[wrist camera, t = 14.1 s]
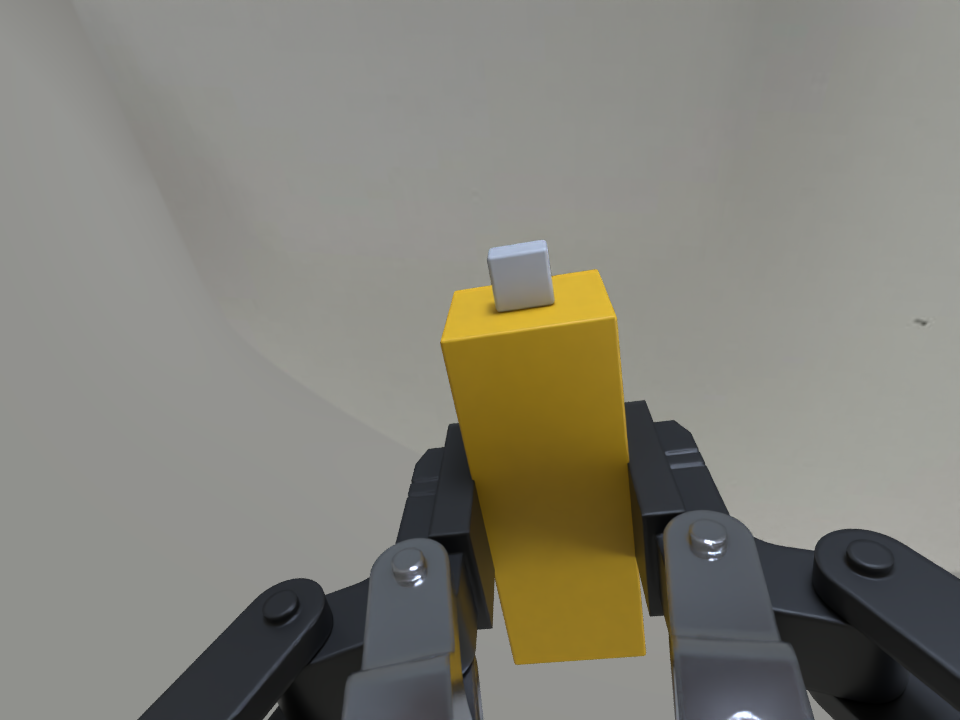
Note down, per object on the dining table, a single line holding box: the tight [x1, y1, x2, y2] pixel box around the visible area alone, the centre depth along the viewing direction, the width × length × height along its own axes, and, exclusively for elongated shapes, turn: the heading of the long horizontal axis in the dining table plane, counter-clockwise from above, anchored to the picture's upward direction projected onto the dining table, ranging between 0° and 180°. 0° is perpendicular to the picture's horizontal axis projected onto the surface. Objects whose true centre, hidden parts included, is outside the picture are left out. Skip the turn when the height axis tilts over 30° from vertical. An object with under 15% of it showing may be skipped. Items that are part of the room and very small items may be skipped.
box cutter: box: [440, 240, 646, 665], centre depth 12 cm, size 9×3×2 cm, turn 10°
